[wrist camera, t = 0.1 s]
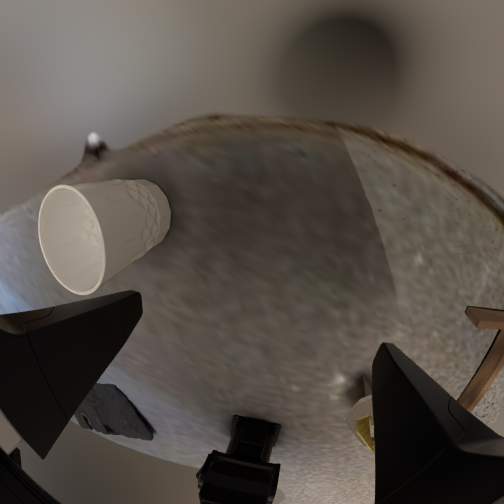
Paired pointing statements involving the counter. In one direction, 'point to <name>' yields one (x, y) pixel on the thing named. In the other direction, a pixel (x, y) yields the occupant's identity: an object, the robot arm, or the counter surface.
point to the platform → (362, 418)
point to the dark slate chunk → (111, 413)
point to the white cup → (100, 229)
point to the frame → (495, 358)
